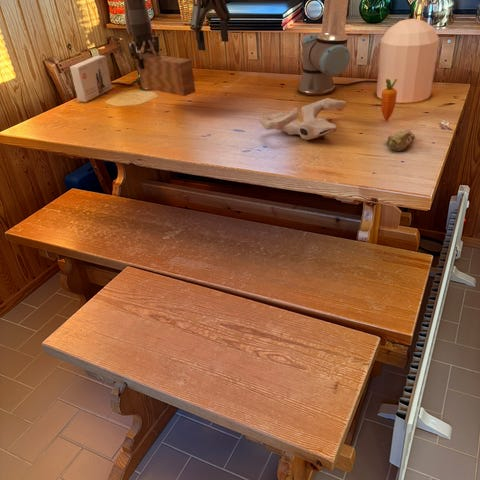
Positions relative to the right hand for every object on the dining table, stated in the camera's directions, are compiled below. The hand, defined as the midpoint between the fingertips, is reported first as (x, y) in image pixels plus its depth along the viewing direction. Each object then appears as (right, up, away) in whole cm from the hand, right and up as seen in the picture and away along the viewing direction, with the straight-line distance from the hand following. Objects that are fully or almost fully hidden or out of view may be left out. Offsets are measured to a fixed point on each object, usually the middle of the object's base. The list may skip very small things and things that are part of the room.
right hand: (213, 45), depth 168 cm
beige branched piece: (+34, -35, -8) cm, 49 cm away
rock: (+61, -40, -20) cm, 76 cm away
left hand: (-27, -1, +17) cm, 32 cm away
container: (+76, -11, +20) cm, 79 cm away
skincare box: (-60, -1, +55) cm, 81 cm away
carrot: (+62, -28, -2) cm, 68 cm away
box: (-19, -11, +16) cm, 27 cm away
